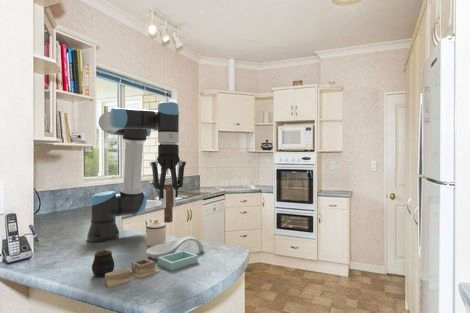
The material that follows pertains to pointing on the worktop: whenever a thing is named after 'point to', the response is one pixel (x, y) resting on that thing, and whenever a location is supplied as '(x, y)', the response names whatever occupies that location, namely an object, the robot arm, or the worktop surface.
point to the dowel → (168, 204)
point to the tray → (177, 260)
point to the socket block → (143, 268)
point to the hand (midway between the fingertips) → (168, 206)
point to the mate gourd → (102, 263)
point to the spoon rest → (171, 247)
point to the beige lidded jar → (155, 233)
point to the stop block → (117, 277)
